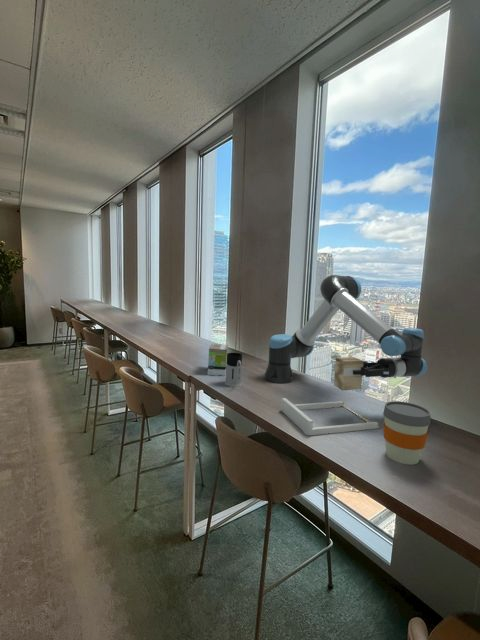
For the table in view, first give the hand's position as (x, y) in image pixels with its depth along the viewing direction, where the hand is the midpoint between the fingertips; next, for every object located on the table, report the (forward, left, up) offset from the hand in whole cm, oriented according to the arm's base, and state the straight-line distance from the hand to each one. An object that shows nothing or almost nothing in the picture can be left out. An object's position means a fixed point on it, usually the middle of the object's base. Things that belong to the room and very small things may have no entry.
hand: (339, 369), depth 122 cm
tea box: (-69, -31, -19) cm, 78 cm away
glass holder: (-44, -28, -19) cm, 55 cm away
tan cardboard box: (0, +4, -7) cm, 8 cm away
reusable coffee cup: (+29, +4, -19) cm, 35 cm away
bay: (0, -3, -19) cm, 19 cm away
